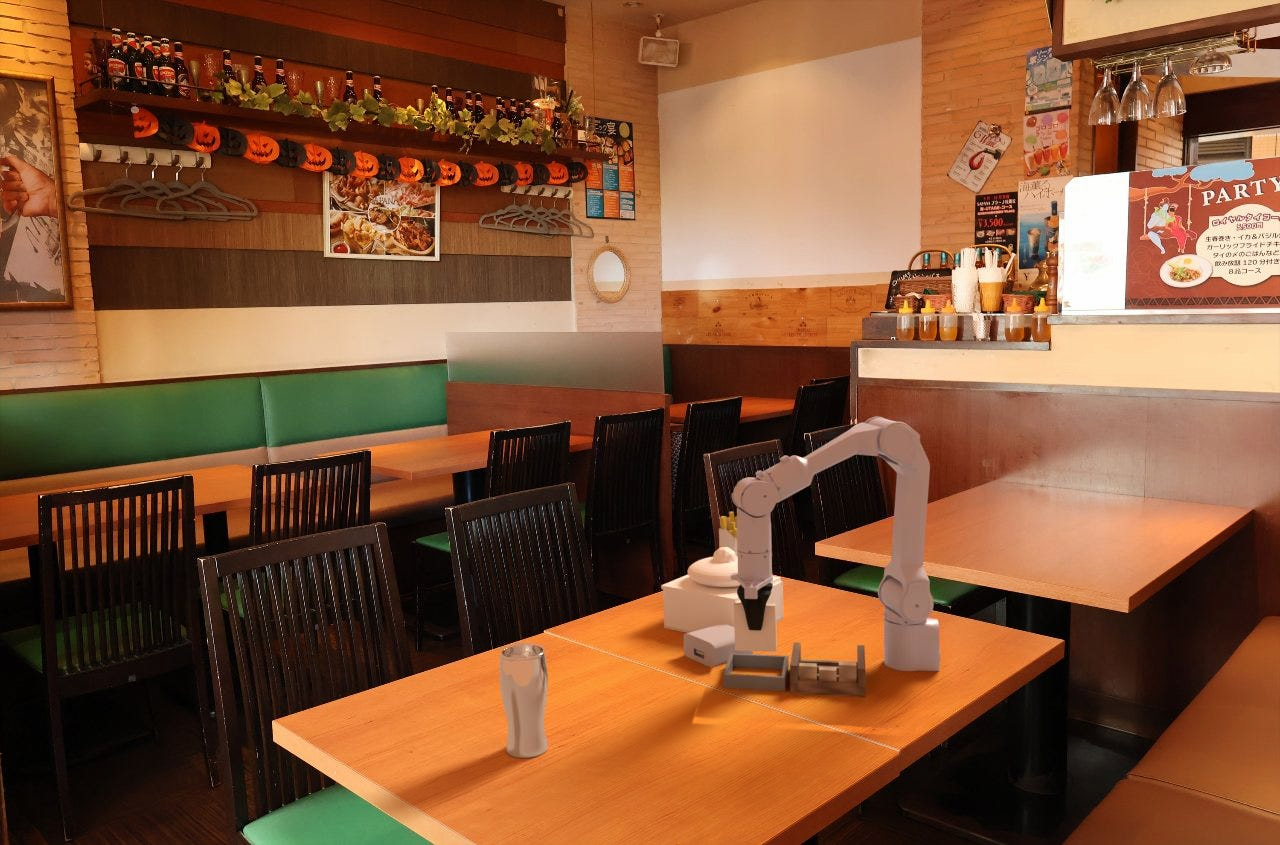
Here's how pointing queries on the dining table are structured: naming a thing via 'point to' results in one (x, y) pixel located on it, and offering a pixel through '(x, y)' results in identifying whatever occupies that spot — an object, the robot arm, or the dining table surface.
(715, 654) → the charger
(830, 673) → the offcuts
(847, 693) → the rack
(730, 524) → the french fries container
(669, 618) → the white lidded square jar
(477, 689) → the dining table surface
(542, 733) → the beer glass
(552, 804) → the dining table surface
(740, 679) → the tray
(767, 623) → the sheet
